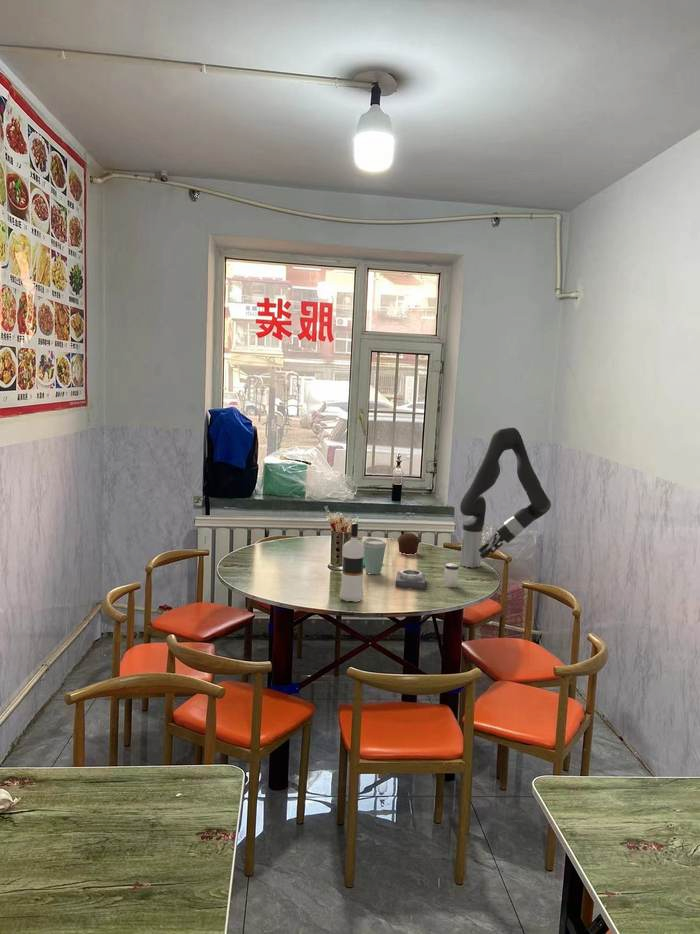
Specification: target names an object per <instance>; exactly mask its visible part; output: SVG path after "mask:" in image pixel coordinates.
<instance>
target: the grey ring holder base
mask: <svg viewBox="0 0 700 934" xmlns="http://www.w3.org/2000/svg"><path fill="white" fill-rule="evenodd" d="M425 584H426V573H423V572H422V571H420V570H416V569H410V568H408V569H402V570H400V571H397V573H396V578H395V585H394V586H395V587H401V589H408V588H412V589H411V590H420V589H422V590H424V591H425V588H426V587H425V586H426V585H425Z"/></svg>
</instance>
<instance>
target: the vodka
mask: <svg viewBox="0 0 700 934" xmlns="http://www.w3.org/2000/svg"><path fill="white" fill-rule="evenodd" d="M350 527H351V529H350V531H351V532H350V540H347V541H345V543H344V544H343V546H342V568H341V569H342V572H341V584H340V586H341V587H340V590H339V598H342V599H344V600H349V601H357V600H361V601H363V600H364V586H363V584H364V583H363V581H364V580H363V578H364V565H363V561H364V550H365V548H364V545H363V544H362V541H360V540H358V539H359V538H358V536H359V535H358V533H359V524H358V523H357V522H351V526H350ZM342 599H341V600H342Z"/></svg>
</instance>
